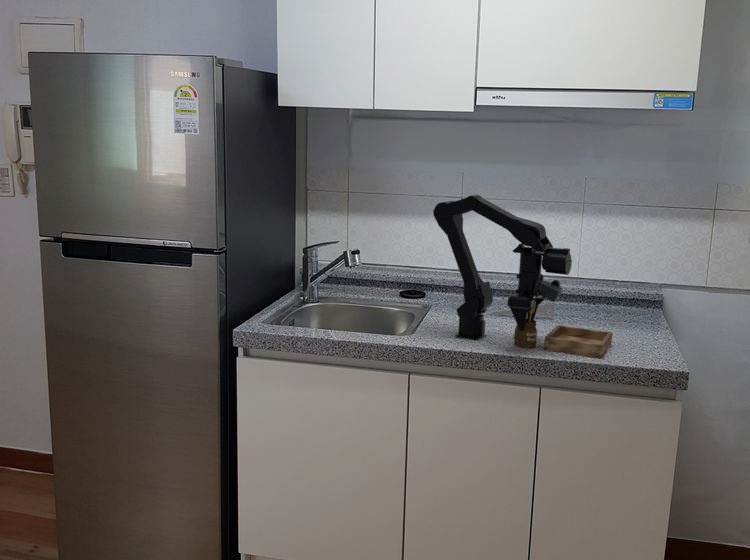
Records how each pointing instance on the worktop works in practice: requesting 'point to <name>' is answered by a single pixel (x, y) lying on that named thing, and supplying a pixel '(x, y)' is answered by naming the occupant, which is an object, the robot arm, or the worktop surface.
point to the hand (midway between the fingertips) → (526, 327)
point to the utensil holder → (526, 333)
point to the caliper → (541, 308)
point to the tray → (578, 341)
